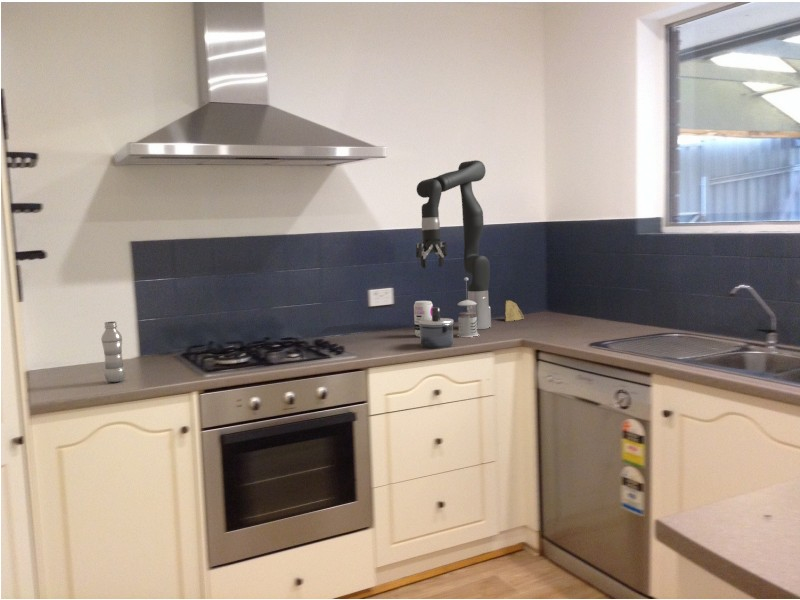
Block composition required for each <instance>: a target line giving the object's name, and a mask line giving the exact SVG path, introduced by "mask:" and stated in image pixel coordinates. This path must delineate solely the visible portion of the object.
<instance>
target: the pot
mask: <svg viewBox="0 0 800 600" xmlns="http://www.w3.org/2000/svg"><path fill="white" fill-rule="evenodd" d="M419 326H420V337H419V341H420V347H421V348H423V347H424V348H423V349H444V348H443V347H447V348H450V347H449V346H451V347H453V346H454V323H452V324H447V325H421V324H419ZM452 345H453V346H452Z"/></svg>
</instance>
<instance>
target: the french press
mask: <svg viewBox="0 0 800 600" xmlns="http://www.w3.org/2000/svg"><path fill="white" fill-rule="evenodd" d="M463 281H465V288H466V291H465V293H466V295H465V296H466V297H468V285H467V281H469V277H467V276H466V277H464V278H463ZM476 304H477V303H475V302H473V301H470V300H468V299H464V300H462V301H459V302H457V306H459V307H466V311H464V312H463V311H462V312H459V313H458V315H459V316H458V318H457V320H458V321H457V322H458V334H456V337H457V336H461V337H460V338H462V337H471V338H474V337H473V336H478V335H479V336H480V334H479V332H478V329H477V316H473V315H475V314H476V313H475V312H473V311H472V312H469V309H468V306H471V308H472V306H474V305H476ZM471 308H470V309H471ZM469 315H472V316H470V318H469ZM475 322H476V323H475ZM475 325H476V326H475ZM475 328H476V329H475ZM479 336H478V337H479Z"/></svg>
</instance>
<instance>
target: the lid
mask: <svg viewBox="0 0 800 600" xmlns="http://www.w3.org/2000/svg"><path fill="white" fill-rule="evenodd" d="M452 323H453V324H454V319H453V318H449V317H446V318H444V317H441V308H440V307H439V306H438V307H433V308H432V319H423V320H420V321H419V324H421V325H447V324H452Z"/></svg>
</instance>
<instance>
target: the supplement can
mask: <svg viewBox="0 0 800 600" xmlns="http://www.w3.org/2000/svg"><path fill="white" fill-rule="evenodd" d="M432 308H434V305H433V302H432V301H431V300H417V301H415V302H414V304H413V318H414V319H413V320H414V335H415V336H416V338H417V337H418V338H420V326H419V321H420V320H423V319H432Z"/></svg>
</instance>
